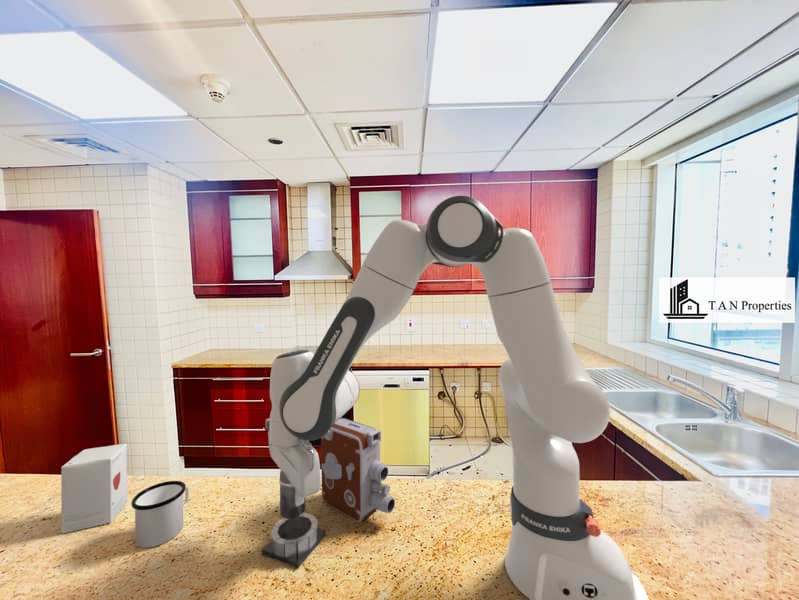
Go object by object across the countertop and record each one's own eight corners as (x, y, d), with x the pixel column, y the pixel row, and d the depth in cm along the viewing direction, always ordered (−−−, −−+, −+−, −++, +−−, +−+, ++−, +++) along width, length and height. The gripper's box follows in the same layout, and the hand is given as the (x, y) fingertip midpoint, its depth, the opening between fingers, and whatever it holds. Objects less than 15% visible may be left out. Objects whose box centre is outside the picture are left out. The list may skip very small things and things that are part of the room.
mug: (158, 554, 63) (157, 509, 63) (119, 548, 65) (119, 504, 65) (205, 513, 75) (204, 476, 75) (171, 509, 77) (170, 472, 77)
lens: (309, 511, 65) (309, 471, 65) (284, 522, 62) (284, 480, 61) (300, 499, 69) (300, 461, 69) (276, 509, 66) (276, 469, 66)
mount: (326, 534, 68) (325, 517, 68) (298, 568, 59) (297, 548, 59) (292, 524, 71) (292, 507, 71) (261, 554, 63) (261, 535, 63)
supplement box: (112, 523, 72) (110, 458, 72) (60, 535, 69) (58, 467, 69) (129, 500, 80) (128, 442, 80) (83, 509, 77) (82, 448, 77)
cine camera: (375, 540, 66) (374, 445, 66) (316, 504, 78) (315, 424, 78) (401, 515, 74) (400, 430, 73) (344, 486, 85) (343, 413, 85)
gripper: (329, 442, 59) (329, 515, 59) (291, 411, 75) (291, 469, 75) (295, 452, 55) (296, 531, 55) (263, 418, 71) (263, 479, 71)
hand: (293, 495), depth 65 cm, fingers closed on lens, 5 cm apart
